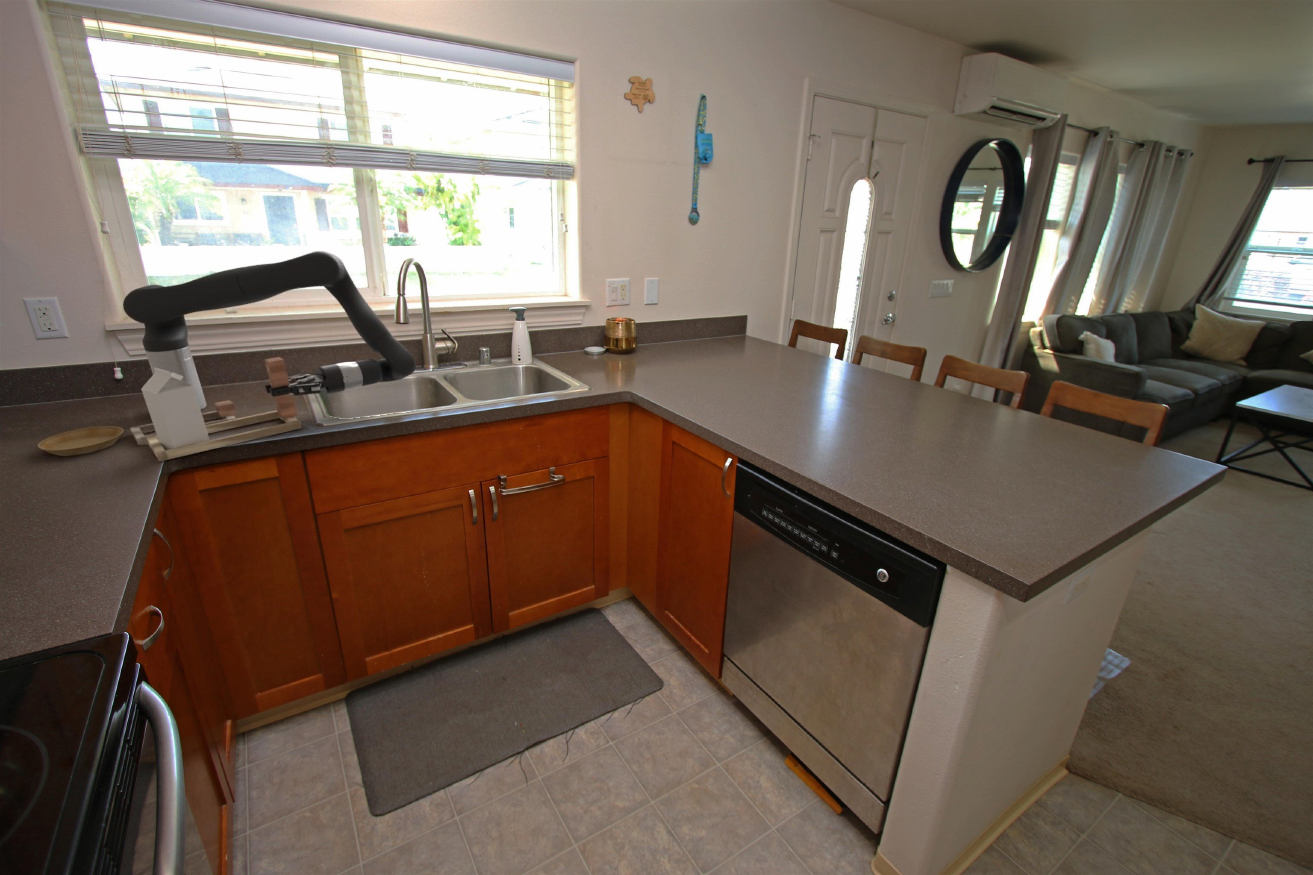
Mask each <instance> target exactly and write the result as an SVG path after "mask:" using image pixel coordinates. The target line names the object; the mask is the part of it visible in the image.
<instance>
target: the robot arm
mask: <svg viewBox="0 0 1313 875" xmlns="http://www.w3.org/2000/svg"><path fill="white" fill-rule="evenodd" d="M314 287H315V288H316V287H317V288H318V287H323V288H325V289H326V291H328V292H329V293H330V294H331V296H333V297H334V299H336V301H337V302H338V303H339V305H340V306H341V307H342V309H343V310H344V312H345V314H346V315H347V317H348V318H349V321H350V323H351V325H352V326H353V327H354V329H355V330H356V332H357V333H358V335H359V336H360V337H361V339H362V340H363V341H364V342H365V344H366V345H367V347H369V349H370V350H371V351H372V352H373V353H375V354H380V355H381V356H382V357H383V358H381V359H372V358H370V359H362V360H355V361H344V362H343V361H342V362H338V363H333V364H327V365H321V366H318V367H317V369H316V374H313V375H312V374H310V373H307V374H304V373H298V374H294V375H290V376H288V379H289V383H290V384H288V385H287V386H288V387H287V386H286V385H284V386H278V387H273V388H271V384H270V383H267V384H265V385H264V389H265V392H266V393H267V394H270V396H271V397H273V398H274V397H276V396H281V395H286V394H290V395H294V396H297V397H298V396H303V395H305V396H306V395H313V394H314V395H315V394H321V393H322V392H323V394H325V395H331V394H335V393H340V392H346V391H350V390H354V389H356V388H361V387H364V386H370V385H374V384H378V383H388V382H395V381H401V380H403V379H405V378H407V377H408V376H410V375H412V374H413V373H414V372H415V370H416V369H417V368H416V367H417V364H416V360H415V358H414V356H413V354H412V353H411V352H410V351H409V350H408V349H407V348H406V347H405V346H404V345H403V344H402V343H401V342H400V341H398V340H397V339H396V338H395V337H394V336H393V335H392V333H391V332H390V331H389V330H388V328H387V326H386V325H385V324H384V323H383V321H382V320H381V319H380V318H379V316H378V315H377V314H376V312H375V311H374V310H373V309H372V307H371V306H370V305H369V304H368V302H367V301H366V300H365V298H364V297H363V296H362V294H361V292H360V291H359V290H358V288H357V285H356V284H355V282H354V281H353V279H352V277H351V275H350V273H349V272H348V270H347V268H346V266H345V264H344V262H343V261H342V259H341V258H340V257H339V256H337V255H336V254H333V253H331V252H327V251H323V250H317V251H312V252H309V253H306V254H303V255H300V256H297V257H293V258H289V259H287V260H283V261H279V262H278V261H277V262H273V263H261V264H254V265H248V266H240V267H236V268H232V269H225V270H221V271H218V272H214V273H210V274H207V275H204V276H201V277H198V278H195V279H192V280H190V281H186V282H184V283H183V282H182V283H179V284H174V285H168V286H167V285H166V286H164V285H159V284H149V285H145V286H142V287H138V288H135V289H133V290H130V291H129V293H127V295H125V297H124V299H123V301H122V307H123V311H124V313H125V314H126V316H128V317H129V318H130V319H131V320H133V321H135V322H137V323H140V324H143V325H144V335H143V338H142V341H141V342H142V345H143V349H144V350H145V351H144V352H145V355H146V358H147V361H148V363H149V365H150V366H149V367H150V369H151V373H152V375H153V374H154V373H155V371H154V368H158V369H161V370H165V371H168V372H170V373H176V374H178V375H181V376H183V378H182V380H181V381H183V382H185V383H188V384H190V385H192V386H193V387H194V390H195V393H196V397H197V400H198V403H199V407H200V410H203V409H205V408H206V407H207V401H206V399H205V394H204V391H203V388H202V385H201V382H200V378H199V375H198V372H197V368H196V365H195V361H194V358H193V355H192V353H191V352H192V351H191V348H190V345H189V342H188V334H189V333H188V326H187V322H186V319H185V318H186V317H185V315H189V314H192V313H193V314H194V313H199V312H204V311H205V312H206V311H214V310H222V309H229V308H233V307H240V306H246V305H249V304H250V305H251V304H255V303H259V302H262V301H265V300H268V299H271V298H273V297H276V296H278V295H280V294H282V293H285V292H289V291H291V290H298V289H306V288H314Z"/></svg>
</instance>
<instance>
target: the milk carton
mask: <svg viewBox="0 0 1313 875" xmlns="http://www.w3.org/2000/svg"><path fill="white" fill-rule="evenodd" d="M154 371H155V373H154V374H153V373H152V376H151V377H150V378H148V380H147V381H146V382H145V383H144V385H143V386H142V388H141V393H142V395H143V399H144V401H145V404H146V407H147V410H148V413H149V416H150V419H151V421H152V422H151V423H153V425H154V428H155V433H156V434H157V437H158V440H159V442H160V444H161V445H162V447H163V448H164V450H169V449H174V448H178V447H183V446H187V445H191V444H196V443H200V442H205V441H209V440H211V439H210V437H209V433H207V430H206V426H205V423H204V420H203V416H202V409H200V407H199V403H198V400H197V397H196V393H195V390H194V387H193V386H192V385H190V384H188V383H185V382H183V381H181V380H182V378H183V376H181V375H178V374H176V373H170V372H168V371H165V370H161V369H158V368H154Z"/></svg>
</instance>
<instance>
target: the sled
mask: <svg viewBox="0 0 1313 875" xmlns="http://www.w3.org/2000/svg"><path fill="white" fill-rule="evenodd" d="M264 363H265V367H266V371H267V375H268V379H269V384H271V388H273V387H278V386H284V385H286V386H287V385H288V384H290V383H291V382H289V379H288V377H289V374H288V371H287V366H286V362H285V359H284V358H282V357H280V356H278V357H277V356H276V357H272V358H265V359H264ZM287 387H288V386H287ZM293 395H294V394H293ZM293 395H290V394H286V395H281V396H276V397H273V399H274V403H275V407H276V410H271V411H267V412H262V413H258V414H253V415H248V416H243V417H238V418H236V419H233V420H228V421H223V422H219V423H214V424H209V425H205V426H206V430H207V433H208V434H211V433H216V432H220V431H225V430H229V429H233V428H239V427H243V426H249V425H253V424H256V423H258V424H259V423H261V422H267V421H271V420H275V419H276V420H277V419H280V420H281V421H283V422H284V423H281V424H275V425H270V426H268V427H267V426H266V427H263V428H258V429H254V430H249V431H245V432H241V433H236V434H231V435H227V436H223V437H218V438H214V439H210V440H209V441H205V442H200V443H196V444H191V445H187V446H183V447H178V448H174V449H169V450H164V448H163V447H162V445H161V444H160V442H159V440H158V437H157V436H153V437H148V438H147V441H148V444H147V445H148V446H149V447H150V449H151V451H152V452H153V453H154V455H155V456H156V458H157V460H158V461H159V462H164V461H167V460H171V459H175V458H180V457H184V456H189V455H193V454H197V453H200V452H205V451H209V450H210V451H211V450H214V448H215V449H219V448H221V447H223V448H224V447H228V446H231V445H235V444H239V443H243V442H248V441H252V440H255V439H261V438H265V437H269V436H274V435H277V434H282V433H286V432H290V431H295V430H299V429H302V427H303V426H302V423H301V421H300V420H299V419H297V418H296V417H297V416H298V414H297V409H296V404H295V400H294V396H293Z"/></svg>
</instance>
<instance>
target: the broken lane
mask: <svg viewBox="0 0 1313 875" xmlns="http://www.w3.org/2000/svg"><path fill="white" fill-rule="evenodd" d="M214 407H215V409H216V410H213V411H212V410H211V411H208V412H203V413H202V412H201V413H202V416H203V420H204V423H205V425H209V424H214V423H219V422H223V421H228V420H233V419H237V417H236V416H234V415H237V410H236V408H235V405H234V402H232V401H231V400H230V399H229V400H223V401H218V402H215V403H214ZM221 417H222V418H221ZM216 418H217V419H219V420H217V419H216ZM209 419H212V420H211V421H210V420H209ZM205 420H208V421H205ZM129 430H130V432H131V433H130V434H131V435H132V437H133V436H134V437H133V439H134V440H135V442H136V441H137V442H136V443H137V445H138V446H139V445H141V446H144V445H143V444H145V445H147V444H146V443H148V441H147V438H148V437H153V436H157V434H156V431H155V428H154V425H153V422H151V423H148V424H142V425H137V426H133V427H130V428H129ZM151 431H155V432H154V433H152V432H151ZM147 432H150V433H149V434H148V433H147ZM143 433H145V434H143Z"/></svg>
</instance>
